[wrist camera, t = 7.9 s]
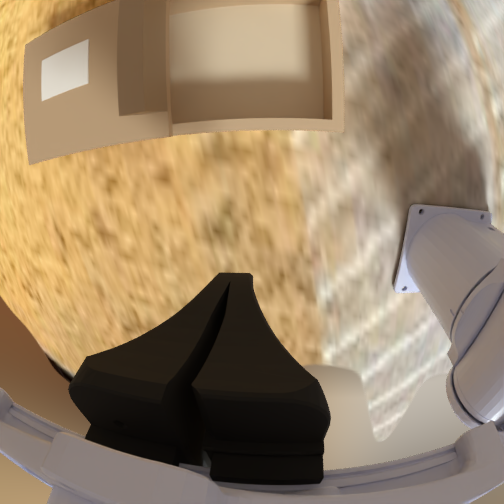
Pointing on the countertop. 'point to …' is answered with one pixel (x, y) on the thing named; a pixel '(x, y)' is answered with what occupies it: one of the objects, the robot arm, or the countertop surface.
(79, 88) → the lid
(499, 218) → the countertop surface
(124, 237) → the countertop surface
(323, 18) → the mailer
